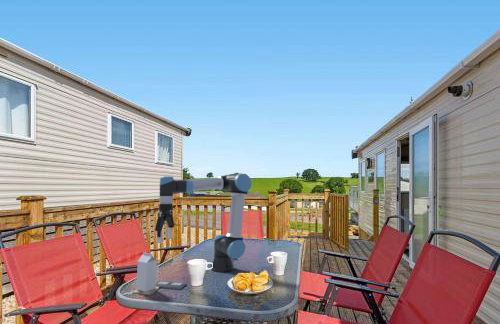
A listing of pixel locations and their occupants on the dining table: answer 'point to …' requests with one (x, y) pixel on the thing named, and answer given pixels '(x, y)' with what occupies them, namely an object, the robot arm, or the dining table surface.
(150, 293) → the coaster
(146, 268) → the milk carton
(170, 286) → the label panel
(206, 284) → the dining table surface
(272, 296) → the dining table surface
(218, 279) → the dining table surface
